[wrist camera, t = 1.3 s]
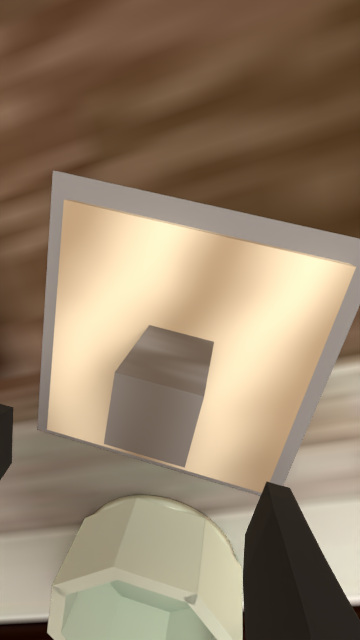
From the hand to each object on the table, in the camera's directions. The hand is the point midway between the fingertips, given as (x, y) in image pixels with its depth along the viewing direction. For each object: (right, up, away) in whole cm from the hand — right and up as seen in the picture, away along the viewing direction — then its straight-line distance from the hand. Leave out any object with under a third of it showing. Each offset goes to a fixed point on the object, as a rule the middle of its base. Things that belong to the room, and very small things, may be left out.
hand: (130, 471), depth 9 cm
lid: (+1, +2, +7) cm, 8 cm away
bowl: (0, -11, +13) cm, 17 cm away
